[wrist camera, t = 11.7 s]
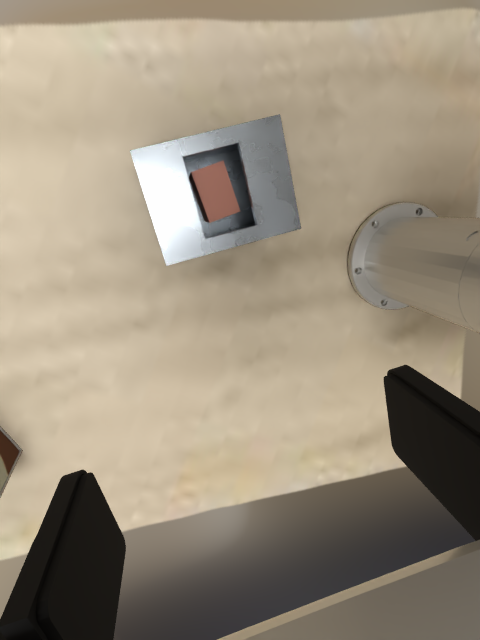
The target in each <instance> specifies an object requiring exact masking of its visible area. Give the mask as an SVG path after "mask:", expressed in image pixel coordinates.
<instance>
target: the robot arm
mask: <svg viewBox="0 0 480 640" xmlns="http://www.w3.org/2000/svg"><path fill="white" fill-rule="evenodd" d="M372 223H373V225H372ZM355 269H356V271H355ZM348 271H349V276H350V280H351V283H352V285H353V287H354V289H355V291H356V292H357V293H358V294H359V296H360V297H361V298H362V299H364V300H365V301H366V302H368V303H370V304H372V305H374V306H376V307H379V308H381V309H389V310H395V309H402V308H405V307H409V306H411V307H414V308H416V309H419V310H421V311H424V312H426V313H429V314H431V315H434V316H436V317H439V318H441V319H444V320H447V321H449V322H452V323H454V324H457V325H459V326H462V327H464V328H467V329H469V330H472V331H475V332H477V333H480V218H453V217H438V216H437V215H436V214H435V213H434V212H433V211H432V210H430V209H429V208H427V207H425V206H423V205H420V204H416V203H395V204H392V205H388V206H385V207H383V208H381V209H379V210H377V211H376V212H375V213H374V214H372V215H371V216H370V217H368V219H367V220H366V221H365V222H364V223H363V224H362V225H361V227H360V228H359V230H358V231H357V233H356V234H355V237H354V239H353V241H352V243H351V247H350V251H349V256H348ZM384 387H385V395H386V403H387V411H388V419H389V427H390V435H391V442H392V447H393V449H394V451H395V453H396V455H397V456H398V457H399V458H400V459H401V460H402V461H403V462H404V463H405V465H406V466H407V467H408V468H409V469H410V470H411V471H412V472H413V473H414V474H415V475H416V476H417V478H418V479H419V480H420V481H421V482H422V483H423V484H424V485H425V486H426V487H427V488H428V489H429V490H430V492H431V493H432V494H433V495H434V496H435V497H436V498H437V499H438V500H439V501H440V502H441V503H442V505H443V506H444V507H445V508H446V509H447V510H448V511H449V512H450V513H451V514H452V515H453V516H454V517H455V519H456V520H457V521H458V522H459V523H460V524H461V525H462V526H463V527H464V528H465V529H466V530H467V532H469V534H470V535H471V536H472V537H473V538H474V539H475V540H476V541H475V542H472V543H469V544H466V545H464V546H461V547H458V548H455V549H453V550H450V551H447V552H445V553H442V554H439V555H437V556H434V557H431V558H429V559H426V560H423V561H421V562H418V563H415V564H413V565H410V566H408V567H405V568H402V569H400V570H397V571H394V572H392V573H389V574H387V575H384V576H381V577H378V578H376V579H373V580H371V581H368V582H365V583H363V584H360V585H358V586H355V587H352V588H350V589H347V590H344V591H342V592H339V593H336V594H334V595H331V596H329V597H326V598H323V599H321V600H318V601H316V602H313V603H311V604H308V605H305V606H303V607H300V608H298V609H295V610H292V611H290V612H287V613H285V614H282V615H280V616H277V617H274V618H271V619H269V620H266V621H264V622H261V623H259V624H256V625H253V626H251V627H248V628H246V629H243V630H241V631H238V632H235V633H233V634H231V635H228V636H225V637H223V638H220V639H218V640H480V412H479V411H478V410H476V409H475V408H473V407H471V406H470V405H468V404H467V403H465V402H464V401H462V400H461V399H459V398H458V397H456V396H454V395H453V394H451V393H450V392H448V391H447V390H445V389H444V388H442V387H441V386H439V385H438V384H436V383H434V382H433V381H431V380H430V379H428V378H427V377H425V376H424V375H422V374H421V373H419V372H418V371H416V370H414V369H413V368H411V367H410V366H408V365H403V366H400V367H397V368H394V369H391V370H389V371H388V373H387V376H385V377H384ZM125 551H126V545H125V540H124V537H123V535H122V532H121V530H120V528H119V526H118V524H117V522H116V520H115V518H114V516H113V514H112V512H111V510H110V508H109V505H108V503H107V501H106V499H105V497H104V495H103V493H102V491H101V489H100V487H99V485H98V483H97V481H96V479H95V476H94V475H93V473H87V472H86V471H85V470H80V471H77V472H74V473H71V474H68V475H65V476H63V477H62V478H61V479H60V482H59V484H58V486H57V489H56V491H55V494H54V496H53V498H52V501H51V503H50V505H49V508H48V510H47V513H46V515H45V517H44V520H43V522H42V524H41V527H40V529H39V532H38V534H37V536H36V538H35V540H34V542H33V544H32V546H31V548H30V551H29V553H28V555H27V558H26V560H25V563H24V565H23V567H22V569H21V572H20V574H19V577H18V579H17V581H16V584H15V586H14V588H13V591H12V593H11V595H10V598H9V600H8V603H7V605H6V607H5V610H4V612H3V615H2V617H1V619H0V640H113V638H114V630H115V623H116V616H117V609H118V601H119V595H120V588H121V580H122V573H123V566H124V559H125Z"/></svg>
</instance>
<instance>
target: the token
mask: <svg viewBox="0 0 480 640" xmlns="http://www.w3.org/2000/svg"><path fill="white" fill-rule="evenodd" d="M189 181H190V184H191V186H192V189H193V192H194V194H195V197H196V200H197V202H198V205H199V208H200V210H201V213H202V216H203V219H204V221H205V222H208V223H211V222H214V221H216V220H219V219H222V218H224V217H227V216H230V215H232V214H235V213H237V212H240V208H239V205H238V202H237V200H236V197H235V194H234V191H233V188H232V185H231V182H230V179H229V176H228V173H227V170H226V167H225V164H224V161H220V162H217V163H215V164H212V165H209V166H207V167H204V168H201V169H198V170H196V171H193V172H191V173H190V176H189Z"/></svg>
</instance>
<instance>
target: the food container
mask: <svg viewBox="0 0 480 640" xmlns="http://www.w3.org/2000/svg"><path fill="white" fill-rule="evenodd" d="M22 451H23V450H22V449H21V448H20V447H19V446H18V445H17V444H16V442H15V441H14V440H13V439H12V438H11V437H10V436H9V435H8V434H7V433H6V432H5V431H4V430H3V428H2V427H1V426H0V497H1V495H2V493H3V491H4V489H5V487H6V485H7V483H8V480H9V478H10V476H11V474H12V472H13V470H14V468H15V466H16V463H17V461H18V459H19V457H20V455H21V453H22Z"/></svg>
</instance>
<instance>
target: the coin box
mask: <svg viewBox="0 0 480 640" xmlns="http://www.w3.org/2000/svg"><path fill="white" fill-rule="evenodd" d="M130 152H131V156H132V159H133V162H134V165H135V168H136V171H137V175H138V178H139V181H140V184H141V187H142V190H143V193H144V197H145V200H146V203H147V206H148V209H149V212H150V215H151V219H152V222H153V225H154V228H155V231H156V234H157V237H158V241H159V244H160V247H161V250H162V253H163V256H164V259H165V263H166V266H167V265H171V264H175V263H178V262H182V261H185V260H189V259H193V258H196V257H200V256H204V255H207V254H211V253H214V252H218V251H222V250H225V249H229V248H233V247H236V246H240V245H243V244H247V243H251V242H254V241H258V240H262V239H265V238H269V237H272V236H276V235H280V234H283V233H287V232H291V231H294V230H298V229H301V226H300V220H299V215H298V209H297V204H296V198H295V193H294V188H293V182H292V177H291V171H290V166H289V160H288V155H287V150H286V144H285V139H284V133H283V128H282V122H281V117H280V114H279V115H275V116H271V117H267V118H263V119H258V120H254V121H250V122H246V123H242V124H238V125H234V126H230V127H225V128H221V129H217V130H213V131H209V132H205V133H201V134H196V135H192V136H188V137H184V138H180V139H176V140H172V141H167V142H163V143H159V144H155V145H151V146H147V147H143V148H139V149H134V150H130ZM220 161H224V164H225V167H226V170H227V173H228V176H229V179H230V182H231V185H232V188H233V191H234V194H235V197H236V200H237V202H238V205H239V208H240V212H237V213H235V214H232V215H230V216H227V217H224V218H222V219H219V220H216V221H214V222H211V223H208V222H205V221H204V219H203V216H202V213H201V210H200V208H199V205H198V202H197V200H196V197H195V194H194V192H193V189H192V186H191V184H190V181H189V176H190V173H191V172H193V171H196V170H198V169H201V168H204V167H207V166H209V165H212V164H215V163H217V162H220Z"/></svg>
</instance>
